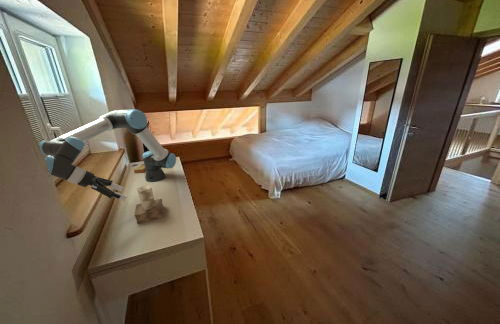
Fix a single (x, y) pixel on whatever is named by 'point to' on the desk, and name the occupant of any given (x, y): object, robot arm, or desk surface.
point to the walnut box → (149, 212)
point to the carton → (140, 169)
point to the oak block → (146, 197)
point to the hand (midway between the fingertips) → (124, 194)
